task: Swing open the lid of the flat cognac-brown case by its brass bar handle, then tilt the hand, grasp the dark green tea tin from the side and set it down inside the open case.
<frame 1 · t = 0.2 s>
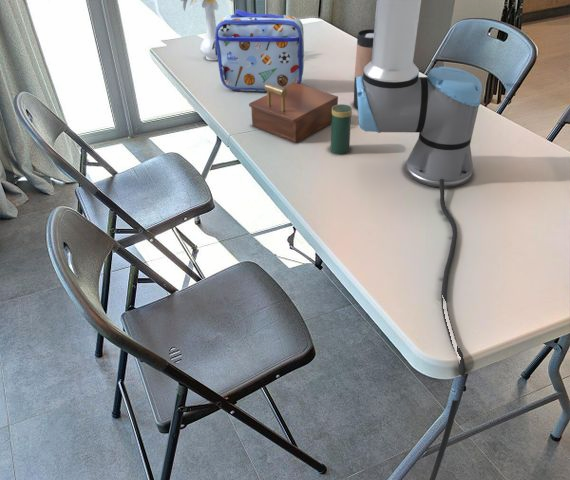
travel mug: (365, 106, 159), on the table
case: (295, 122, 151), on the table
tea tin: (339, 149, 139), on the table
case lid: (293, 90, 144), point 9 cm above the table, hinge at 0.0°
lunch box: (260, 88, 170), on the table
flower vase: (213, 58, 190), on the table
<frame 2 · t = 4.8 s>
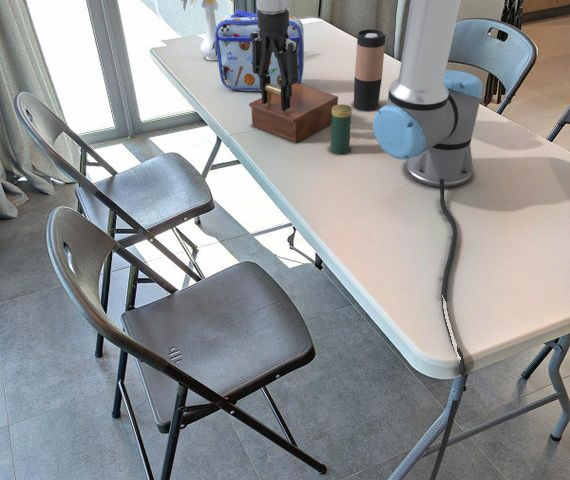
hand: (276, 105, 142), 8 cm above the table, tool pointing down, fingers closed on case lid, 6 cm apart
case lid: (293, 90, 144), point 9 cm above the table, hinge at 0.0°, touching gripper
everything else where it was.
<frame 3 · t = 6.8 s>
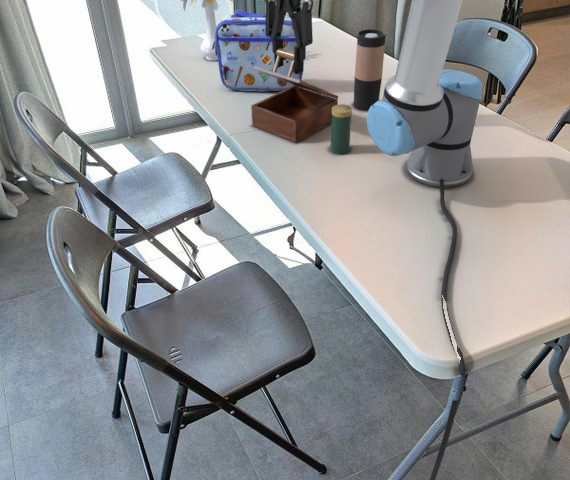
hand: (288, 69, 139), 15 cm above the table, tool pointing down, fingers closed on case lid, 6 cm apart
case lid: (300, 71, 143), point 14 cm above the table, hinge at 30.1°, touching gripper
everything else where it was.
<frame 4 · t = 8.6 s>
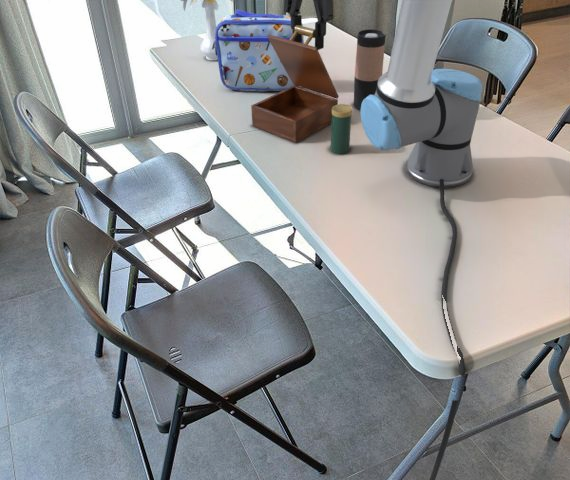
hand: (308, 45, 141), 19 cm above the table, tool pointing down, fingers open, 7 cm apart
case lid: (310, 58, 144), point 16 cm above the table, hinge at 57.1°
everything else where it was.
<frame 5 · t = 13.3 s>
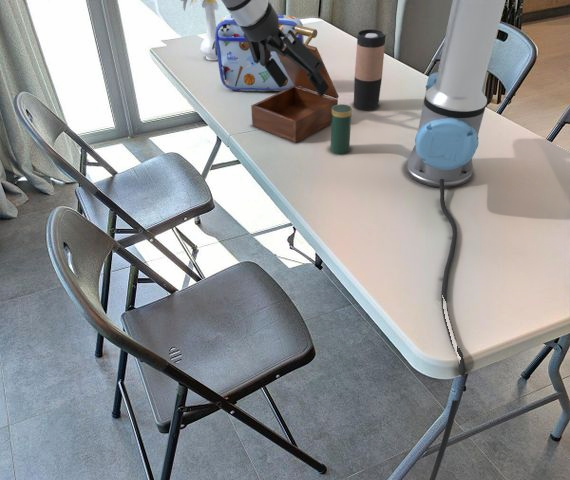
hand: (303, 87, 125), 18 cm above the table, tool tilted 35°, fingers open, 13 cm apart
nothing on the table moved.
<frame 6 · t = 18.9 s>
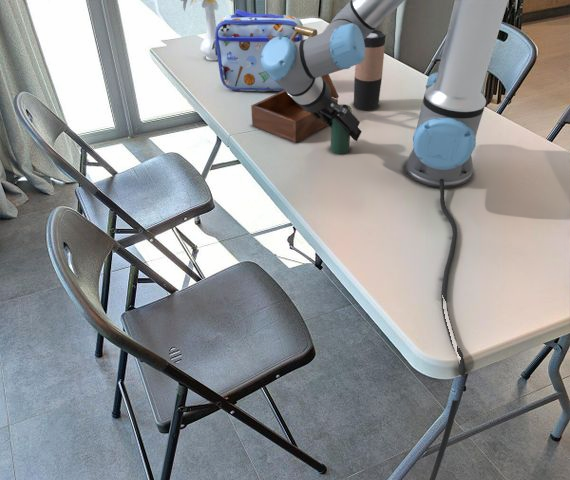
hand: (349, 132, 139), 3 cm above the table, tool tilted 45°, fingers closed on tea tin, 5 cm apart
tea tin: (339, 149, 139), on the table, touching gripper
everything else where it was.
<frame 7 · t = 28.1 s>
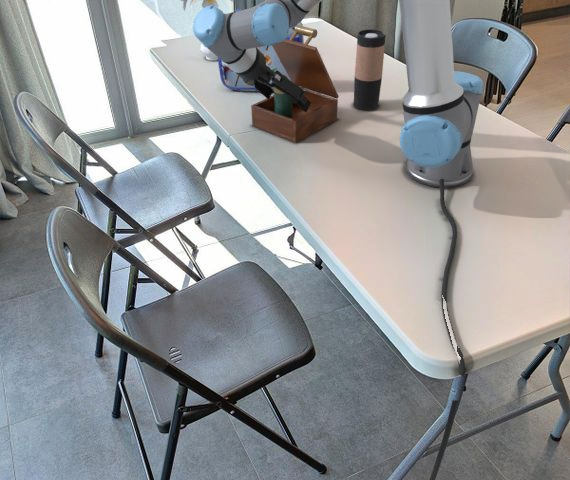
hand: (288, 100, 145), 7 cm above the table, tool tilted 45°, fingers open, 13 cm apart
tea tin: (283, 125, 148), point 1 cm above the table, touching case
everything else where it was.
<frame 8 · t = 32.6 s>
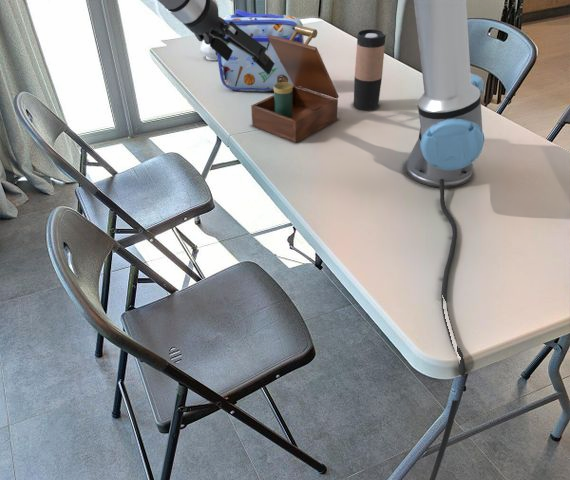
hand: (249, 62, 128), 21 cm above the table, tool tilted 45°, fingers open, 13 cm apart
nothing on the table moved.
at the end: case lid at +57° (first picture: +0°); tea tin inside the target area in the case (2.9 cm from its centre), point 0.9 cm above the case's base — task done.
